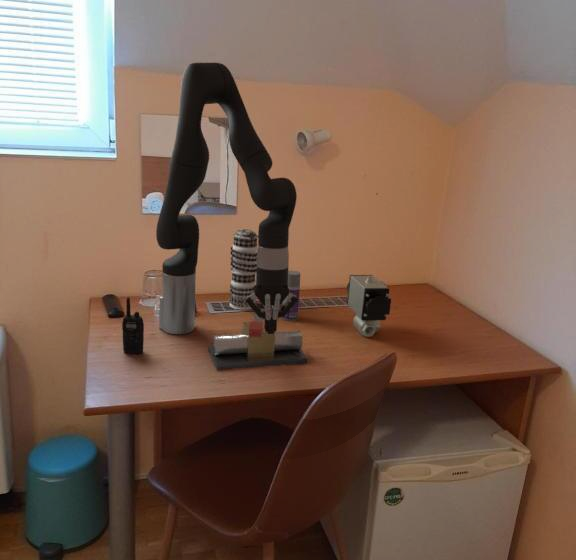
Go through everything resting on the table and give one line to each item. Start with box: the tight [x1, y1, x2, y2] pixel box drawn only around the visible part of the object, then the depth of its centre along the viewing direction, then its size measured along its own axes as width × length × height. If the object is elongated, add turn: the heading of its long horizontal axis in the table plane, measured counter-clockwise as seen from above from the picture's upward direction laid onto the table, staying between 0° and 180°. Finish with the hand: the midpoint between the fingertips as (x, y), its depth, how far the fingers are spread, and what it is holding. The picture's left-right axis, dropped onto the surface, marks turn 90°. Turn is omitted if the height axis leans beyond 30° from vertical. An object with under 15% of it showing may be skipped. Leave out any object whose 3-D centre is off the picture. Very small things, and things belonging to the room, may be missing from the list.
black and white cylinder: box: [228, 228, 258, 311], centre depth 189 cm, size 9×9×25 cm
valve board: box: [207, 320, 309, 371], centre depth 154 cm, size 24×12×11 cm, turn 107°
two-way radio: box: [121, 297, 145, 355], centre depth 151 cm, size 6×4×15 cm
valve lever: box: [249, 308, 265, 338], centre depth 146 cm, size 14×3×2 cm, turn 178°
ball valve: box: [346, 274, 392, 338], centre depth 175 cm, size 18×8×18 cm, turn 14°
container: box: [282, 270, 301, 322], centre depth 182 cm, size 5×5×15 cm
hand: (270, 332), depth 143 cm, fingers closed
